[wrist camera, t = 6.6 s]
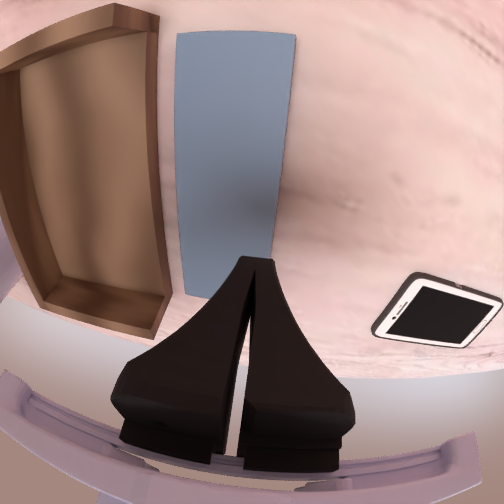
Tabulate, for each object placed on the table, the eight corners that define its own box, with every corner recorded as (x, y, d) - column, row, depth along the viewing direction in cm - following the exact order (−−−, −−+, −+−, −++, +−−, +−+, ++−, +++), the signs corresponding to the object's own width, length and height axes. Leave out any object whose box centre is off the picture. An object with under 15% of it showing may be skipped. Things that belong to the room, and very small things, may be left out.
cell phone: (462, 343, 25) (464, 349, 24) (366, 328, 24) (368, 336, 23) (502, 297, 21) (506, 303, 20) (411, 266, 20) (415, 274, 19)
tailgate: (185, 294, 22) (262, 308, 21) (176, 33, 11) (295, 34, 10) (190, 284, 22) (264, 297, 22) (185, 35, 12) (296, 37, 11)
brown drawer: (66, 273, 24) (40, 307, 20) (24, 56, 11) (-24, 67, 7) (172, 293, 23) (153, 340, 19) (159, 16, 11) (114, 2, 7)
